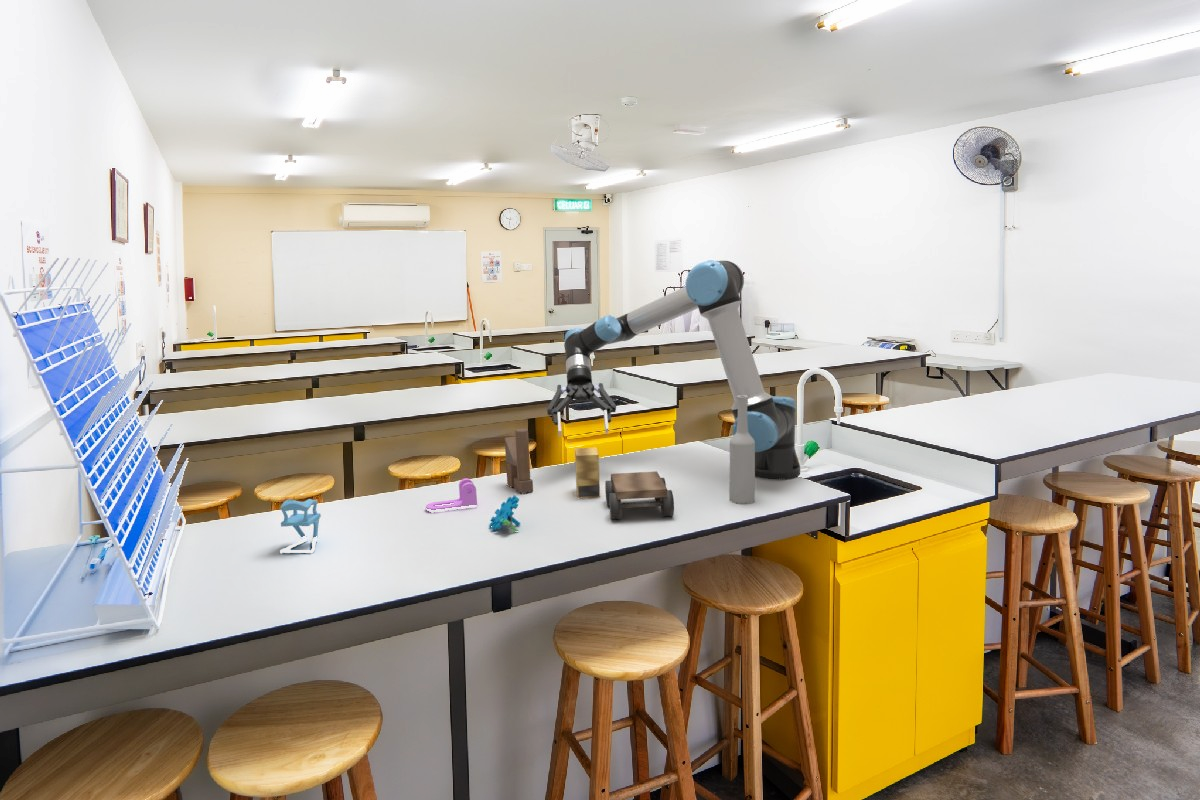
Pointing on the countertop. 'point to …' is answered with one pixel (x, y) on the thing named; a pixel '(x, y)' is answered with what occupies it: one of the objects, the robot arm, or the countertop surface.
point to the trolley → (638, 492)
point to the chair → (300, 515)
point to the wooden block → (518, 461)
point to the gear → (505, 515)
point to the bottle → (742, 459)
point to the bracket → (466, 497)
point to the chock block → (587, 473)
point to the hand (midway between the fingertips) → (583, 432)
